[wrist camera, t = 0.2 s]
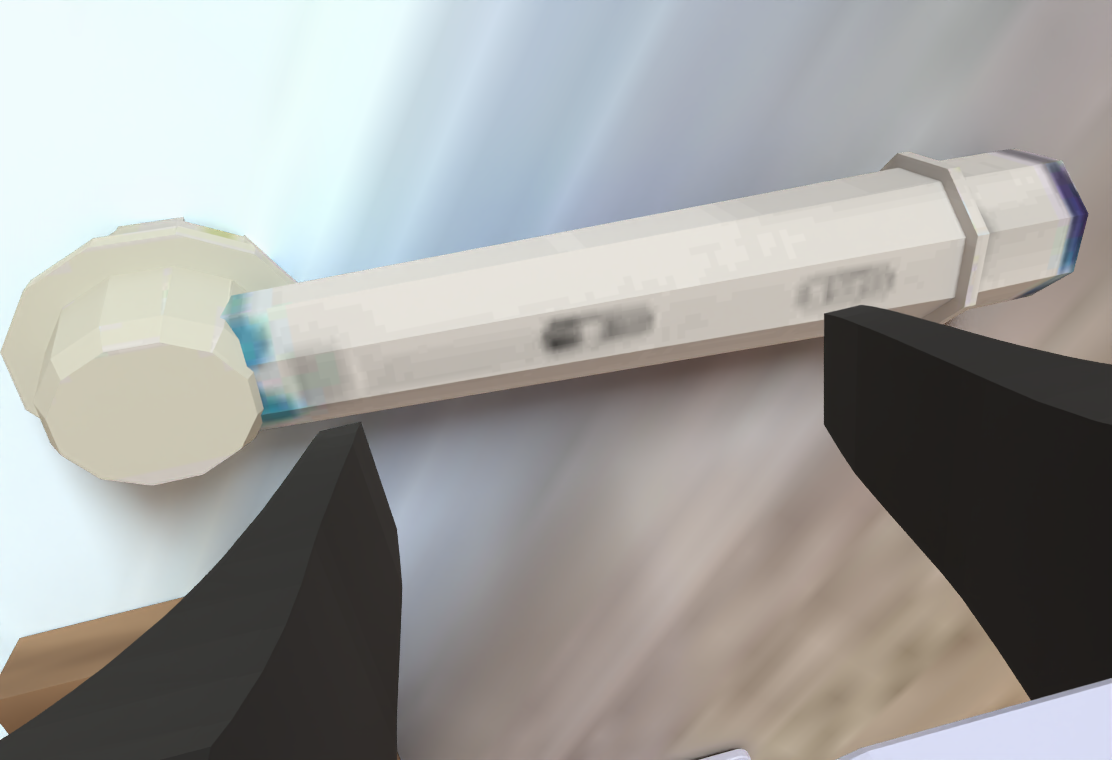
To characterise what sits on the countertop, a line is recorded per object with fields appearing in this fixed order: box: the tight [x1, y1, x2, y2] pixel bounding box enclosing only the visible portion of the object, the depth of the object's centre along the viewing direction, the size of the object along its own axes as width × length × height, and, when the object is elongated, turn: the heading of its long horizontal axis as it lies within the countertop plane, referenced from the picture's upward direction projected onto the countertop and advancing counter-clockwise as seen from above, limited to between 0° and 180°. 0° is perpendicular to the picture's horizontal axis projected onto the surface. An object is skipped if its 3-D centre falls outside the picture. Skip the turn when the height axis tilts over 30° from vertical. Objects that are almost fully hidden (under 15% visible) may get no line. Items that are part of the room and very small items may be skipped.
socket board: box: [0, 597, 400, 760], centre depth 27 cm, size 12×9×2 cm
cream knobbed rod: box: [0, 148, 1088, 486], centre depth 20 cm, size 5×7×25 cm
